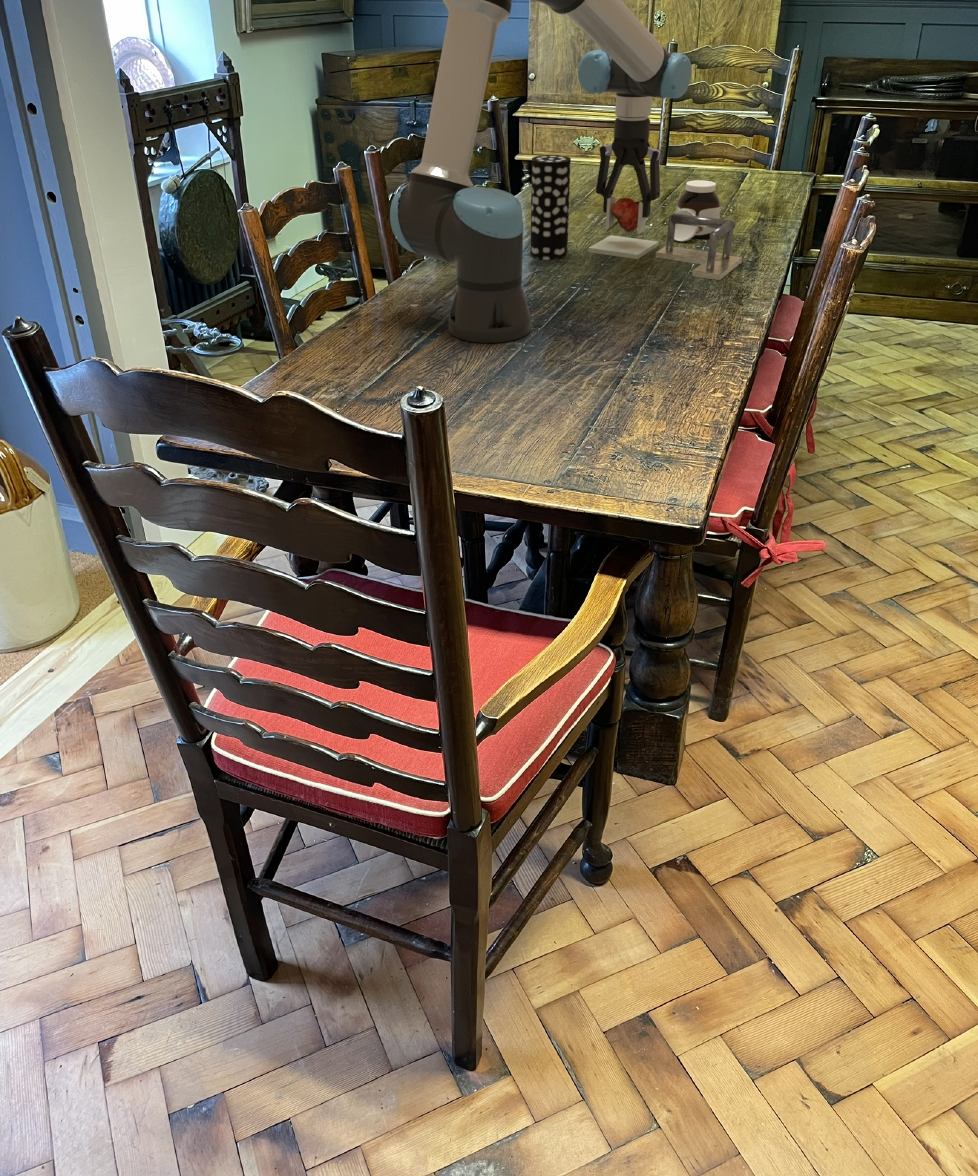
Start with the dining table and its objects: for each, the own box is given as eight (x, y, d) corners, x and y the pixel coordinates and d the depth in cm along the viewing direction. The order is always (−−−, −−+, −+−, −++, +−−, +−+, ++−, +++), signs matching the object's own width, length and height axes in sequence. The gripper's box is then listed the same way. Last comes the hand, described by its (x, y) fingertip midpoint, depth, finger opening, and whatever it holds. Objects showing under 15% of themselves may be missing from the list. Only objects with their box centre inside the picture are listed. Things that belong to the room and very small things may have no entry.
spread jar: (715, 231, 225) (721, 180, 218) (720, 244, 216) (726, 191, 209) (664, 231, 226) (669, 179, 219) (667, 243, 217) (672, 190, 210)
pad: (637, 259, 206) (637, 254, 206) (588, 252, 211) (588, 247, 211) (658, 246, 215) (658, 241, 214) (610, 239, 220) (610, 235, 219)
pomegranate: (616, 246, 209) (654, 217, 205) (597, 218, 206) (635, 189, 203) (614, 241, 215) (650, 213, 212) (596, 214, 212) (633, 185, 209)
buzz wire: (719, 280, 193) (725, 235, 188) (639, 268, 201) (642, 224, 196) (742, 262, 204) (748, 218, 198) (665, 251, 211) (669, 209, 206)
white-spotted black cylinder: (564, 260, 206) (568, 163, 195) (527, 259, 207) (528, 162, 196) (569, 250, 213) (573, 155, 201) (533, 249, 214) (535, 154, 203)
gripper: (683, 118, 196) (672, 231, 209) (597, 111, 204) (592, 221, 217) (670, 123, 190) (659, 239, 204) (582, 116, 199) (578, 228, 212)
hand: (625, 229), depth 211 cm, fingers closed on pomegranate, 7 cm apart
